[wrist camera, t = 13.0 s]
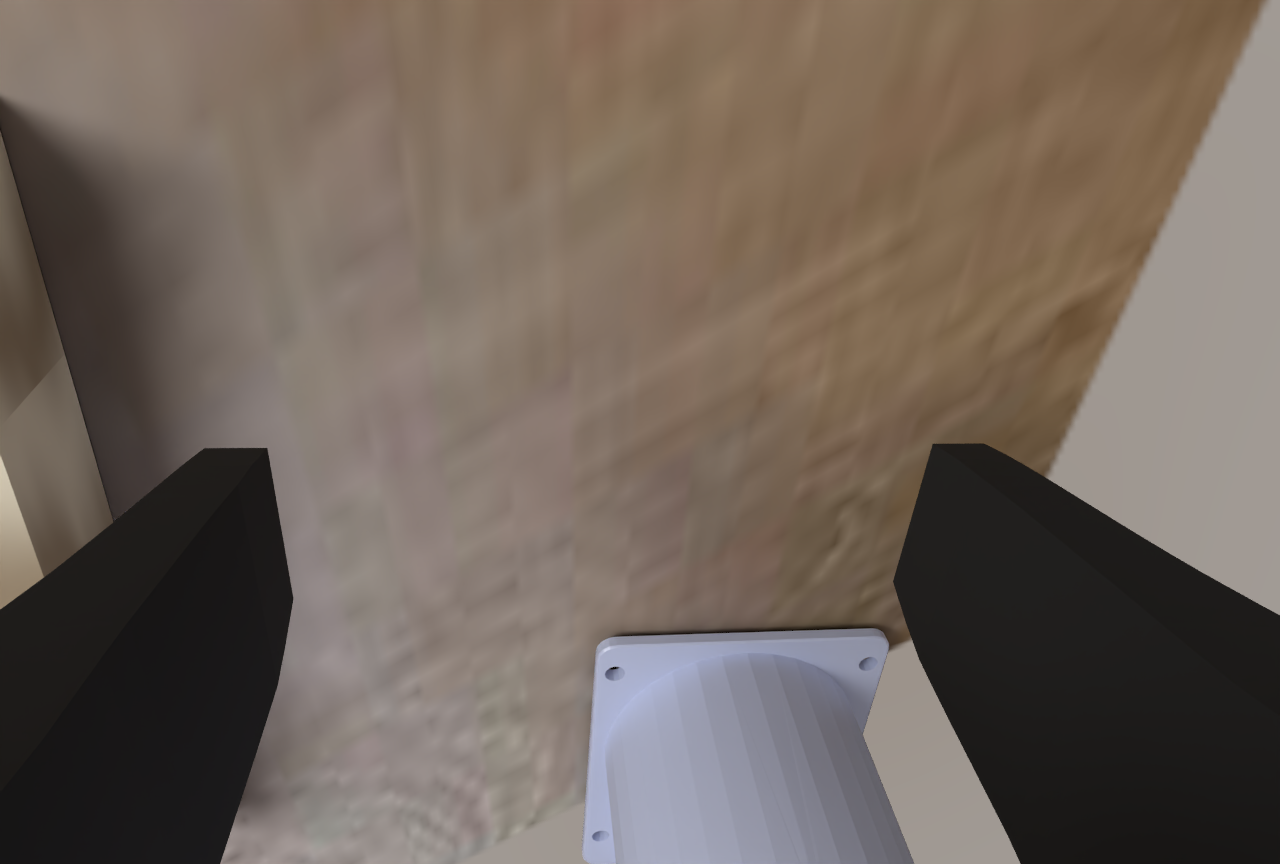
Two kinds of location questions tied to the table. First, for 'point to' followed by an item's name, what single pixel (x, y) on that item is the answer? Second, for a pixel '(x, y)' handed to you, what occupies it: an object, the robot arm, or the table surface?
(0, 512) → the slotted wooden holder
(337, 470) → the table surface
